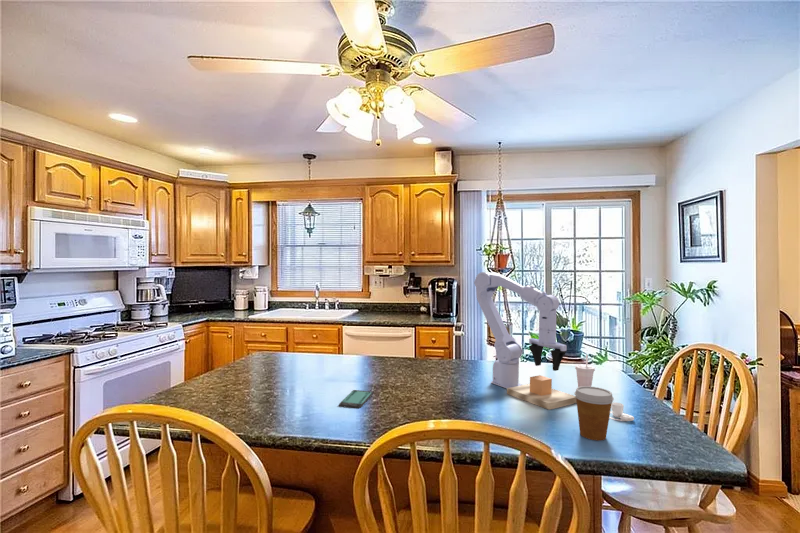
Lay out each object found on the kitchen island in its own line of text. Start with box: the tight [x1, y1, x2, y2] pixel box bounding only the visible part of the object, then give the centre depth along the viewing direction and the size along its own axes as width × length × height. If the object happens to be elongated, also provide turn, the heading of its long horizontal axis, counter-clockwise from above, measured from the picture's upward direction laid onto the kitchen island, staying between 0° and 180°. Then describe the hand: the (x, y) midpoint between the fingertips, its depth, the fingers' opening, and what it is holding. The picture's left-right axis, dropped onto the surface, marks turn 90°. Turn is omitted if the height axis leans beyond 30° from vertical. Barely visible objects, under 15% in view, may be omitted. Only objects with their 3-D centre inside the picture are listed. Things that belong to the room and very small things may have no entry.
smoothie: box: [574, 354, 596, 388], centre depth 146 cm, size 6×6×14 cm
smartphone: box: [338, 389, 374, 409], centre depth 135 cm, size 7×1×15 cm
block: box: [529, 374, 553, 396], centre depth 140 cm, size 5×5×5 cm
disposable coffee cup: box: [574, 386, 615, 441], centre depth 110 cm, size 10×10×12 cm
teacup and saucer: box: [609, 402, 635, 422], centre depth 124 cm, size 9×8×4 cm
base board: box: [506, 383, 577, 410], centre depth 141 cm, size 18×14×2 cm
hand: (546, 367), depth 145 cm, fingers open, 7 cm apart
